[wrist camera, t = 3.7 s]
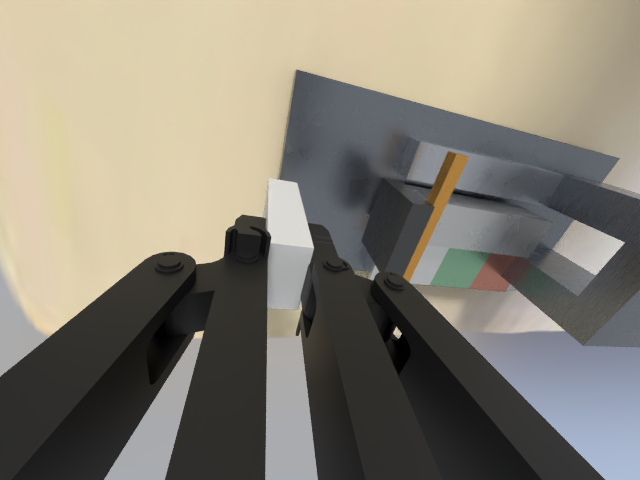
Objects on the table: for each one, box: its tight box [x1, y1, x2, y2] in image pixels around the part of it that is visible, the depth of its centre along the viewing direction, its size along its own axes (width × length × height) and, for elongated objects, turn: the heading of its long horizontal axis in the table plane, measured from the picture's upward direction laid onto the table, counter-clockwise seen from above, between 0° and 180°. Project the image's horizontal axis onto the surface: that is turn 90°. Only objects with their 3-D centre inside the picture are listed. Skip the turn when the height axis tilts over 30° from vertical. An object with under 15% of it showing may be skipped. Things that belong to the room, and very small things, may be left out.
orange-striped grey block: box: [361, 151, 553, 282], centre depth 18 cm, size 9×13×6 cm
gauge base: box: [278, 70, 640, 347], centre depth 18 cm, size 13×26×10 cm, turn 77°
